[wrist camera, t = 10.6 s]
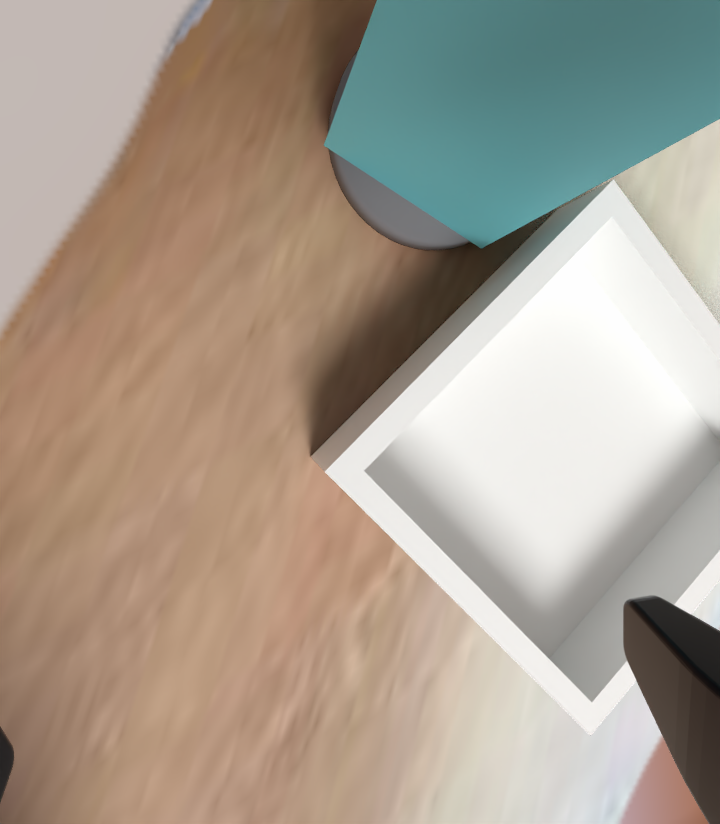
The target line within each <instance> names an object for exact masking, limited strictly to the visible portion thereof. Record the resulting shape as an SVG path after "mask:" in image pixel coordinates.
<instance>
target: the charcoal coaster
mask: <svg viewBox="0 0 720 824" xmlns="http://www.w3.org/2000/svg"><path fill="white" fill-rule="evenodd" d="M358 51H359V50H358ZM358 51H357V52H356V54H355V55H354V56H353V58H352V59H351V61H350V62H349V64H348V66H347V68H346V69H345V71H344V73H343V75H342V78H341V81H340V84H339V87H338V89H337V92H336V95H335V98H334V101H333V104H332V108H331V113H330V117H329V127H328V133H329V130H330V127H331V124H332V122H333V119H334V116H335V113H336V111H337V108H338V105H339V102H340V100H341V97H342V94H343V92H344V89H345V86H346V83H347V81H348V78H349V75H350V72H351V70H352V67H353V64H354V62H355V59H356V56H357V53H358ZM329 152H330V158H331V163H332V167H333V170H334V173H335V176H336V179H337V181H338V183H339V186H340V188H341V190H342V192H343V193H344V195H345V197H346V199H347V200H348V202H349V203H350V205H351V206H352V207H353V209H354V210H355V211H356V212H357V214H358V215H359V216H360V217H361V218H362V219H363V220H364V221H365V222H366V223H367V224H368V225H370V226H371V227H372V228H373V229H375V230H376V231H377V232H378V233H380V234H382V235H383V236H385V237H387V238H388V239H390V240H392V241H394V242H397V243H399V244H401V245H404V246H408V247H411V248H415V249H421V250H446V249H452V248H456V247H459V246H463V245H465V244H467V243H470V241H469V240H467V239H466V238H464V237H463V236H461V235H460V234H458V233H457V232H455V231H454V230H452V229H450V228H449V227H447V226H446V225H444V224H443V223H441V222H440V221H438V220H437V219H435V218H434V217H432V216H431V215H429V214H428V213H426V212H425V211H423V210H422V209H420V208H418V207H417V206H415V205H414V204H412V203H411V202H409V201H408V200H406V199H405V198H403V197H402V196H400V195H399V194H397V193H396V192H394V191H393V190H391V189H390V188H388V187H386V186H385V185H383V184H382V183H380V182H379V181H377V180H376V179H374V178H373V177H371V176H370V175H368V174H367V173H365V172H364V171H362V170H361V169H359V168H358V167H356V166H354V165H353V164H351V163H350V162H348V161H347V160H345V159H344V158H342V157H341V156H339V155H338V154H336V153H335V152H333V151H332V150H330V149H329Z"/></svg>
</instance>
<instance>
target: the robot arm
mask: <svg viewBox="0 0 720 824" xmlns="http://www.w3.org/2000/svg"><path fill="white" fill-rule="evenodd" d="M623 647H624V652H625V656H626V659H627V662H628V664H629V666H630V668H631V670H632V672H633V675H634V677H635V679H636V681H637V683H638V685H639V687H640V689H641V691H642V693H643V696H644V698H645V700H646V702H647V704H648V706H649V708H650V710H651V712H652V715H653V717H654V719H655V721H656V723H657V725H658V727H659V729H660V731H661V734H662V736H663V738H664V740H665V742H666V744H667V746H668V748H669V750H670V752H671V754H672V757H673V759H674V761H675V763H676V765H677V767H678V769H679V771H680V773H681V775H682V777H683V779H684V781H685V783H686V785H687V786H688V788H689V790H690V792H691V794H692V795H693V797H694V799H695V801H696V802H697V804H698V806H699V807H700V809H701V811H702V812H703V814H704V816H705V818H706V819H707V821H708V823H709V824H720V631H719V630H717V629H716V628H714V627H712V626H710V625H709V624H707V623H705V622H703V621H702V620H700V619H698V618H696V617H695V616H693V615H691V614H689V613H688V612H686V611H684V610H682V609H680V608H679V607H677V606H675V605H673V604H672V603H670V602H668V601H666V600H665V599H663V598H661V597H658V596H655V595H649V596H643V597H637V598H632V599H628V600H626V601H625V603H624V606H623ZM13 762H14V750H13V747H12V744H11V743H10V741H9V740H8V738H7V736H6V735H5V733H4V732H3V730H2V728H1V727H0V802H1V799H2V796H3V794H4V791H5V788H6V785H7V782H8V779H9V776H10V773H11V770H12V767H13Z"/></svg>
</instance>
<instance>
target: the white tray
mask: <svg viewBox="0 0 720 824" xmlns="http://www.w3.org/2000/svg"><path fill="white" fill-rule="evenodd" d="M311 458H312V459H313V460H314V461H315V462H316V463H317V464H318V465H319V466H320V467H321V468H322V469H323V471H324V472H325V473H326V474H327V475H328V476H329V477H330V478H332V479H333V480H334V481H335V482H336V483H337V484H338V485H339V486H340V487H341V488H342V489H343V490H344V491H345V492H346V493H347V494H348V495H349V496H350V497H351V498H352V499H353V500H354V501H355V502H356V503H357V504H358V505H359V506H360V507H361V508H362V509H363V510H364V511H365V512H366V513H367V514H368V515H369V516H370V517H371V518H372V519H373V520H374V521H375V522H376V523H377V524H378V525H379V526H380V527H381V528H382V529H383V530H384V531H385V532H386V533H387V534H388V535H389V536H390V537H391V538H392V539H393V540H394V541H395V542H396V543H397V544H398V545H399V546H400V547H401V548H402V549H403V550H404V551H405V552H406V553H407V554H408V555H409V556H410V557H411V558H412V559H413V560H414V561H415V562H416V563H417V564H418V565H419V566H420V567H421V568H422V569H423V570H424V571H425V572H426V573H427V574H428V575H429V576H430V577H431V578H432V579H433V580H434V581H435V582H436V583H437V584H438V585H439V586H440V587H441V588H442V589H443V590H444V591H445V592H446V593H447V594H448V595H449V596H450V597H451V598H452V599H453V600H454V601H455V602H456V603H457V604H458V605H459V606H460V607H461V608H462V609H463V610H464V611H465V612H466V613H467V614H468V615H469V616H470V617H471V618H472V619H473V620H474V621H475V622H476V623H477V624H478V625H479V626H480V627H481V628H482V629H483V630H484V631H485V632H486V633H487V634H488V635H489V636H490V637H491V638H492V639H493V640H494V641H495V642H496V643H497V644H498V645H499V646H500V647H501V648H502V649H503V650H504V651H505V652H507V653H508V654H509V655H510V656H511V657H512V658H513V659H514V660H515V661H516V662H517V663H518V664H519V665H520V666H521V667H522V668H523V669H524V670H525V671H526V672H527V673H528V674H529V675H530V676H531V677H532V678H533V679H534V680H535V681H536V682H537V683H538V684H539V685H540V686H541V687H542V688H543V689H544V690H545V691H546V692H547V693H548V694H549V695H550V696H551V697H552V698H553V699H554V700H555V701H556V702H557V703H558V704H559V705H560V706H561V707H562V708H563V709H564V710H565V711H566V712H567V713H568V714H569V715H570V716H571V717H572V718H573V719H574V720H575V721H576V722H577V723H578V724H579V725H580V726H581V727H582V728H583V729H584V730H585V731H586V732H587V733H588V734H589V735H590V736H591V735H592V734H593V733H594V731H595V730H596V729H597V728H598V727H599V725H600V724H601V723H602V722H603V721H604V719H605V718H606V717H607V716H608V714H609V713H610V712H611V711H612V710H613V708H614V707H615V706H616V705H617V704H618V702H619V701H620V700H621V699H622V698H623V696H624V695H625V694H626V693H627V692H628V690H629V689H630V688H631V687H632V686H633V684H634V683H635V682H636V679H635V677H634V675H633V672H632V670H631V668H630V666H629V664H628V662H627V659H626V656H625V652H624V647H623V606H624V603H625V601H626V600H628V599H632V598H637V597H643V596H649V595H655V596H658V597H661V598H663V599H665V600H666V601H668V602H670V603H672V604H673V605H675V606H677V607H679V608H680V609H682V610H684V611H686V612H688V613H689V614H691V615H692V613H693V612H694V611H695V610H696V609H697V607H698V606H699V605H700V604H701V603H702V601H703V600H704V599H705V598H706V597H707V595H708V594H709V593H710V592H711V591H712V589H713V588H714V587H715V586H716V585H717V583H718V582H719V581H720V324H719V323H718V322H717V320H716V319H715V317H714V316H713V315H712V313H711V312H710V311H709V309H708V308H707V306H706V305H705V304H704V302H703V301H702V300H701V298H700V297H699V296H698V294H697V293H696V291H695V290H694V289H693V287H692V286H691V285H690V283H689V282H688V280H687V279H686V278H685V276H684V275H683V274H682V272H681V271H680V270H679V268H678V267H677V265H676V264H675V263H674V261H673V260H672V259H671V257H670V256H669V254H668V253H667V252H666V250H665V249H664V248H663V246H662V245H661V244H660V242H659V241H658V239H657V238H656V237H655V235H654V234H653V233H652V231H651V230H650V229H649V227H648V226H647V224H646V223H645V222H644V220H643V219H642V218H641V216H640V215H639V213H638V212H637V211H636V209H635V208H634V207H633V205H632V204H631V203H630V201H629V200H628V198H627V197H626V196H625V194H624V193H623V192H622V190H621V189H620V187H619V186H618V185H617V183H616V182H615V181H614V179H613V180H611V181H610V182H608V183H606V184H604V185H602V186H600V187H598V188H597V189H595V190H593V191H591V192H589V193H587V194H585V195H584V196H582V197H580V198H578V199H576V200H574V201H572V202H571V203H569V204H567V205H565V206H563V207H561V208H559V209H558V210H556V211H555V212H554V213H553V214H552V215H551V216H550V217H549V218H548V219H547V220H546V221H545V222H544V223H543V224H542V225H541V226H540V227H539V228H538V229H537V230H536V231H535V232H534V233H533V234H532V235H531V236H530V237H529V238H528V239H527V240H526V241H525V242H524V243H523V244H522V245H521V246H520V247H519V248H518V249H517V250H516V251H515V252H514V253H513V254H512V255H511V256H510V257H509V258H508V259H507V260H506V261H505V262H504V263H503V264H502V265H501V266H500V267H499V268H498V269H497V270H496V271H495V272H494V273H493V274H492V275H491V276H490V277H489V278H488V279H487V280H486V281H485V282H484V283H483V284H482V285H481V286H480V287H479V288H478V289H477V290H476V291H475V292H474V293H473V294H472V295H471V296H470V297H469V298H468V299H467V300H466V301H465V302H464V303H463V304H462V305H461V306H460V307H459V308H458V309H457V310H456V311H455V312H454V313H453V314H452V315H451V316H450V317H449V318H448V319H447V320H446V321H445V322H444V323H443V324H442V325H441V326H440V327H439V328H438V329H437V330H436V331H435V332H434V333H433V334H432V335H431V336H430V337H429V338H428V339H427V340H426V341H425V342H424V343H423V344H422V345H421V346H420V347H419V348H418V349H417V350H416V351H415V352H414V353H413V354H412V355H411V356H410V357H409V358H408V359H407V360H406V361H405V362H404V363H403V364H402V365H401V366H400V367H399V368H398V369H397V370H396V371H395V372H394V373H393V374H392V375H391V376H390V377H389V378H388V379H387V380H386V381H385V382H384V383H383V384H382V385H381V386H380V387H379V388H378V389H377V390H376V391H375V392H374V393H373V394H372V395H371V396H370V397H369V398H368V399H367V400H366V401H365V402H364V403H363V404H362V405H361V407H360V408H359V409H358V410H357V411H356V412H355V413H354V414H353V415H352V416H351V417H350V418H349V419H348V420H347V421H346V422H345V423H344V424H343V425H342V426H341V427H340V428H339V429H338V430H337V431H336V432H335V433H334V434H333V435H332V436H331V437H330V438H329V439H328V440H327V441H326V442H325V443H324V444H323V445H322V446H321V447H320V448H319V449H318V450H317V451H316V452H315V453H314V454H313V455H312V456H311Z"/></svg>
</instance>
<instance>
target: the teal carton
mask: <svg viewBox="0 0 720 824" xmlns="http://www.w3.org/2000/svg"><path fill="white" fill-rule="evenodd" d="M718 119H720V0H377V1H376V4H375V7H374V10H373V12H372V15H371V18H370V21H369V23H368V26H367V29H366V31H365V34H364V37H363V40H362V42H361V45H360V48H359V51H358V53H357V56H356V59H355V62H354V64H353V67H352V70H351V72H350V75H349V78H348V81H347V83H346V86H345V89H344V92H343V94H342V97H341V100H340V102H339V105H338V108H337V111H336V113H335V116H334V119H333V122H332V124H331V127H330V130H329V133H328V135H327V138H326V141H325V143H324V146H325V147H327V148H329V149H330V150H332V151H333V152H335V153H336V154H338V155H339V156H341V157H342V158H344V159H345V160H347V161H348V162H350V163H351V164H353V165H354V166H356V167H358V168H359V169H361V170H362V171H364V172H365V173H367V174H368V175H370V176H371V177H373V178H374V179H376V180H377V181H379V182H380V183H382V184H383V185H385V186H386V187H388V188H390V189H391V190H393V191H394V192H396V193H397V194H399V195H400V196H402V197H403V198H405V199H406V200H408V201H409V202H411V203H412V204H414V205H415V206H417V207H418V208H420V209H422V210H423V211H425V212H426V213H428V214H429V215H431V216H432V217H434V218H435V219H437V220H438V221H440V222H441V223H443V224H444V225H446V226H447V227H449V228H450V229H452V230H454V231H455V232H457V233H458V234H460V235H461V236H463V237H464V238H466V239H467V240H469V241H470V242H472V243H473V244H475V245H476V246H478V247H479V248H481V249H482V248H483V247H485V246H487V245H489V244H491V243H493V242H494V241H496V240H498V239H500V238H502V237H504V236H505V235H507V234H509V233H511V232H513V231H515V230H516V229H518V228H520V227H522V226H524V225H526V224H528V223H529V222H531V221H533V220H535V219H537V218H539V217H540V216H542V215H544V214H546V213H548V212H550V211H551V210H553V209H555V208H557V207H559V206H561V205H562V204H564V203H566V202H568V201H570V200H572V199H573V198H575V197H577V196H579V195H581V194H583V193H584V192H586V191H588V190H590V189H592V188H594V187H595V186H597V185H599V184H601V183H603V182H605V181H606V180H608V179H610V178H612V177H614V176H616V175H617V174H619V173H621V172H623V171H625V170H627V169H628V168H630V167H632V166H634V165H636V164H638V163H639V162H641V161H643V160H645V159H647V158H649V157H650V156H652V155H654V154H656V153H658V152H660V151H661V150H663V149H665V148H667V147H669V146H671V145H673V144H674V143H676V142H678V141H680V140H682V139H684V138H685V137H687V136H689V135H691V134H693V133H695V132H696V131H698V130H700V129H702V128H704V127H706V126H707V125H709V124H711V123H713V122H715V121H717V120H718Z"/></svg>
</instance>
